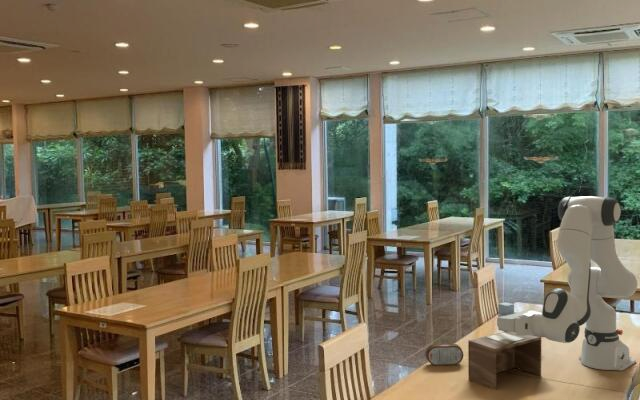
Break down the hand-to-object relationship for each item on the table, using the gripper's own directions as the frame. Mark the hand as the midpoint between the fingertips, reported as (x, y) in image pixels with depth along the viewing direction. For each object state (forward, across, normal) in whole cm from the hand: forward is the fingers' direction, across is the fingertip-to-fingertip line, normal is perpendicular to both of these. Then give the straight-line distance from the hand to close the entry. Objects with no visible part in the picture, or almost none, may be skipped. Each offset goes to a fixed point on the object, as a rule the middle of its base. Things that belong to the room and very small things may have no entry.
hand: (504, 315), depth 239 cm
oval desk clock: (+24, +8, +24) cm, 35 cm away
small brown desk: (0, 0, +24) cm, 24 cm away
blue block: (-1, 0, +6) cm, 6 cm away
